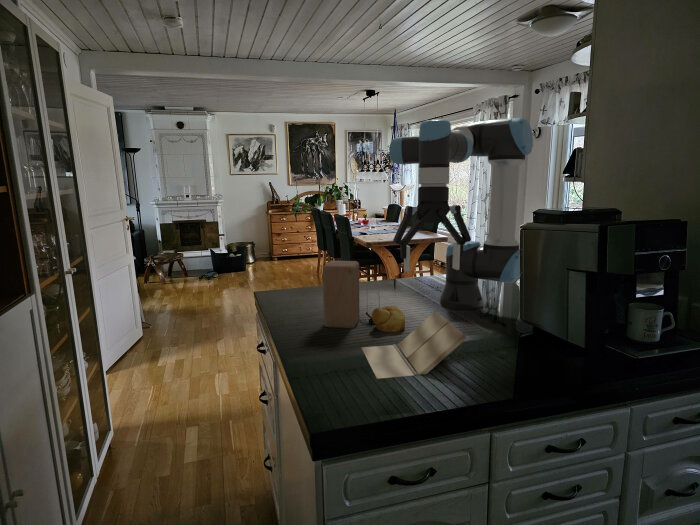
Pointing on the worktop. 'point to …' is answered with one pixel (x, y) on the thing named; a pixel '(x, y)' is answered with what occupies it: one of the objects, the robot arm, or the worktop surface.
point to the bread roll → (388, 319)
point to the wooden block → (341, 294)
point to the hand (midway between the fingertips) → (431, 270)
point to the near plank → (436, 349)
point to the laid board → (388, 361)
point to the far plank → (422, 334)
